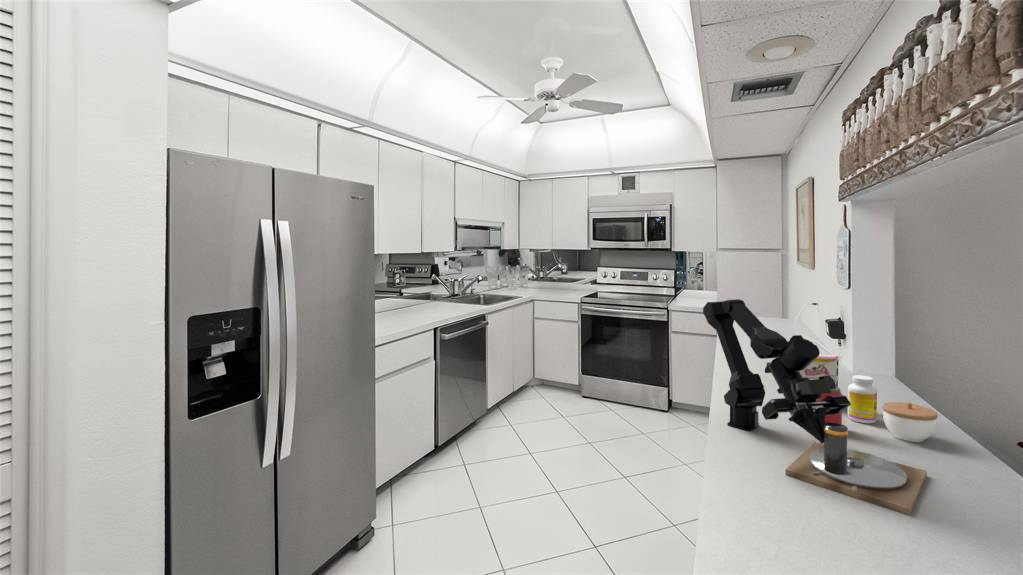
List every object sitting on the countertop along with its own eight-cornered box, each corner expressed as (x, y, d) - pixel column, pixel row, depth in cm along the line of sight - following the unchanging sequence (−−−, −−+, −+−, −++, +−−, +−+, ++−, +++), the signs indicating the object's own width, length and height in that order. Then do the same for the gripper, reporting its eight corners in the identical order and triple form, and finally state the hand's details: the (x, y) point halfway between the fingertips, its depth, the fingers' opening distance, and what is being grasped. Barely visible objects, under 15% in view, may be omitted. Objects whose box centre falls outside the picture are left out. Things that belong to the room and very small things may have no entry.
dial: (841, 447, 107) (842, 403, 106) (925, 480, 91) (927, 429, 90) (791, 460, 101) (792, 414, 101) (871, 497, 85) (873, 443, 85)
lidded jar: (938, 450, 107) (939, 413, 106) (881, 438, 114) (882, 404, 113) (934, 435, 115) (936, 401, 114) (882, 426, 122) (883, 393, 121)
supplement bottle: (878, 425, 122) (879, 381, 121) (849, 421, 125) (849, 378, 124) (874, 418, 128) (875, 375, 127) (846, 414, 131) (846, 373, 130)
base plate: (785, 474, 98) (785, 468, 98) (814, 446, 111) (814, 440, 111) (910, 515, 82) (910, 507, 81) (926, 476, 95) (926, 469, 95)
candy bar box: (795, 404, 141) (796, 355, 140) (795, 399, 145) (795, 351, 144) (838, 409, 135) (839, 358, 134) (836, 404, 139) (837, 355, 138)
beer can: (846, 433, 118) (847, 391, 117) (819, 432, 119) (820, 390, 118) (833, 424, 124) (834, 383, 123) (808, 423, 125) (809, 383, 124)
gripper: (770, 365, 99) (806, 431, 89) (845, 361, 101) (889, 425, 90) (748, 388, 107) (779, 450, 97) (817, 384, 109) (855, 444, 99)
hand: (825, 442), depth 96 cm, fingers closed, pressing on dial
